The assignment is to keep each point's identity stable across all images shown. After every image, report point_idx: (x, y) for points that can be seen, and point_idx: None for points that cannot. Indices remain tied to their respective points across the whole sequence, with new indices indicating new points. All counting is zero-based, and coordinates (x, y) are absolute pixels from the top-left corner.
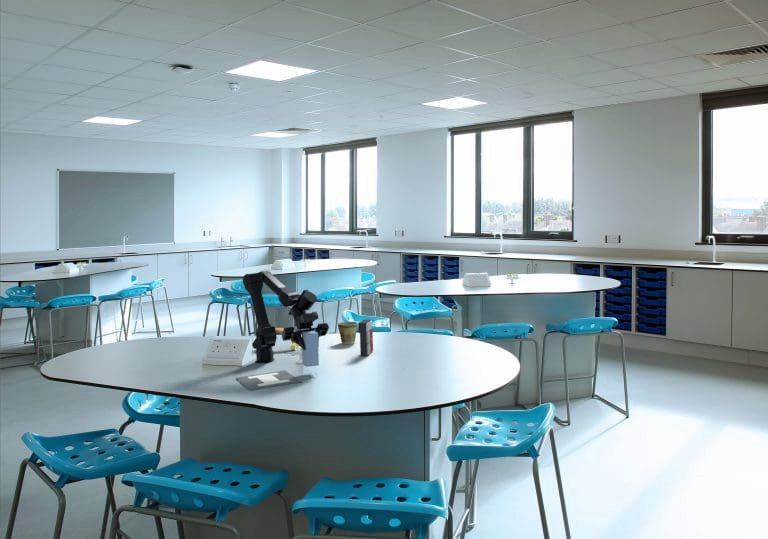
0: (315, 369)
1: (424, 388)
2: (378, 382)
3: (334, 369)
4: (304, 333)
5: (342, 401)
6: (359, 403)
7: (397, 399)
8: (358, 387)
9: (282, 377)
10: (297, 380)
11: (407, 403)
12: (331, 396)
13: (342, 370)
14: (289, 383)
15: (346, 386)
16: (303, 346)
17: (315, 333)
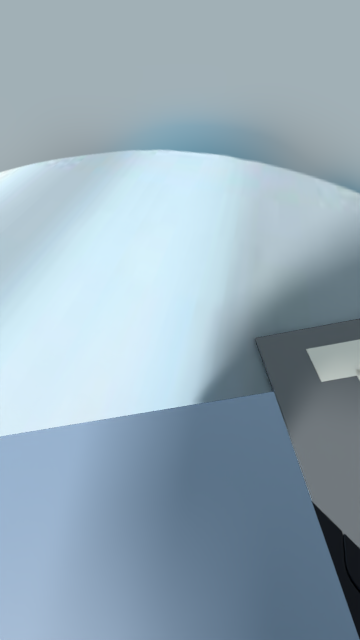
0: None
1: (14, 208)
2: (51, 263)
3: None
4: (331, 559)
5: (183, 179)
6: (159, 168)
7: (93, 174)
8: (114, 241)
9: (356, 440)
10: (275, 353)
11: (93, 160)
12: (195, 203)
13: None
14: (307, 329)
15: (136, 255)
16: None
17: (42, 432)
